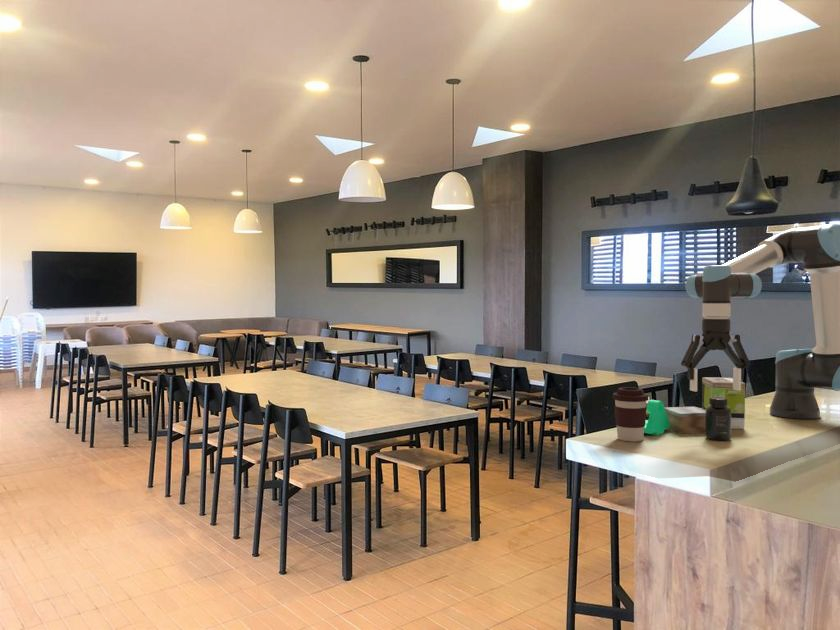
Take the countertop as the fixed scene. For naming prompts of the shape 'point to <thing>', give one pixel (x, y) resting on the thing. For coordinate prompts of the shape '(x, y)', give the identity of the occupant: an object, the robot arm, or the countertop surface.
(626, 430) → the coffee cup
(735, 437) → the countertop surface
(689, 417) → the walnut stand
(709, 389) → the tea box
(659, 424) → the camera mount
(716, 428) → the supplement bottle
